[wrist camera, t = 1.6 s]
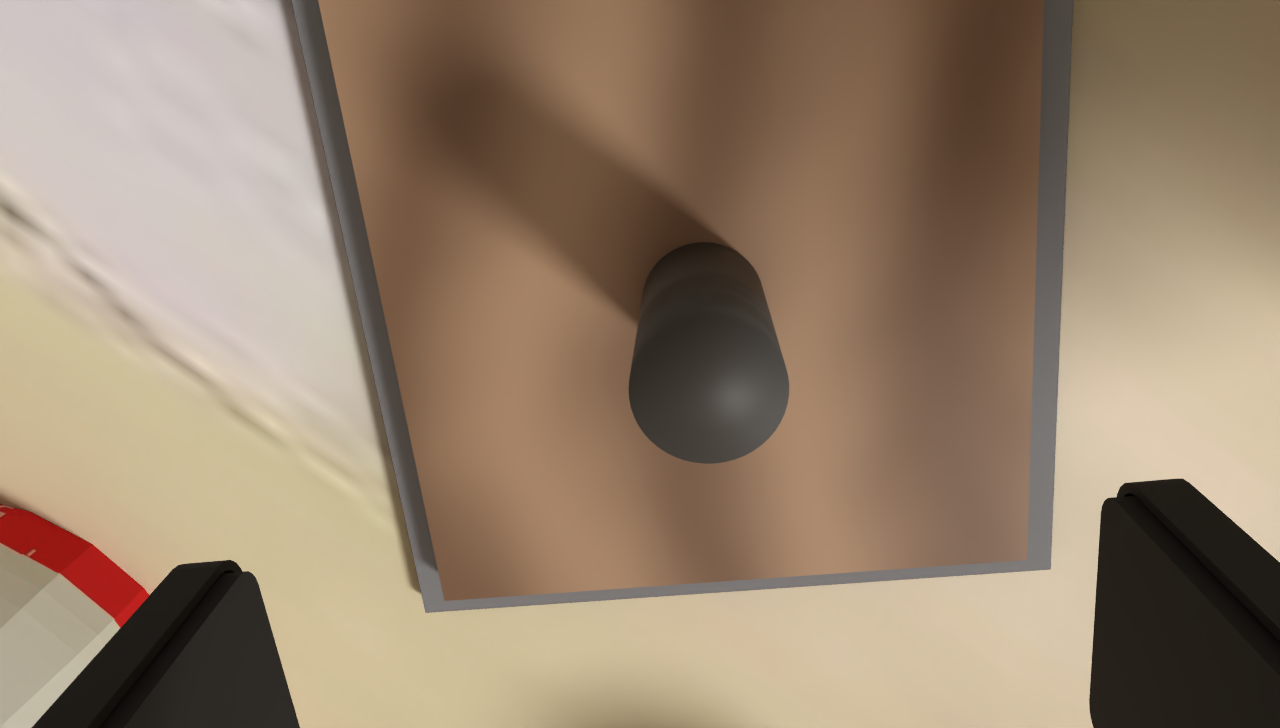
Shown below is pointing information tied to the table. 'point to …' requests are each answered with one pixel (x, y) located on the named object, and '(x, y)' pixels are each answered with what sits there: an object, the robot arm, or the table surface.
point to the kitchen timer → (52, 611)
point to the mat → (1038, 558)
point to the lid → (703, 280)
